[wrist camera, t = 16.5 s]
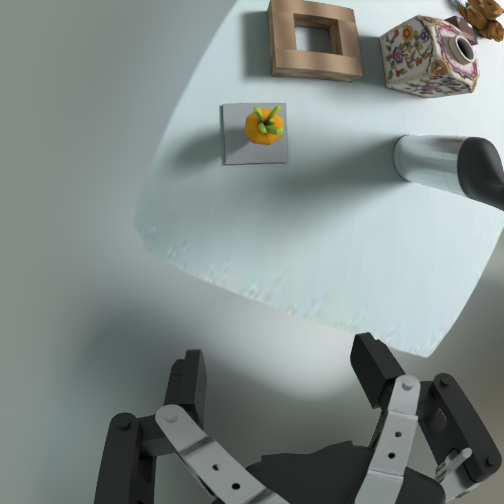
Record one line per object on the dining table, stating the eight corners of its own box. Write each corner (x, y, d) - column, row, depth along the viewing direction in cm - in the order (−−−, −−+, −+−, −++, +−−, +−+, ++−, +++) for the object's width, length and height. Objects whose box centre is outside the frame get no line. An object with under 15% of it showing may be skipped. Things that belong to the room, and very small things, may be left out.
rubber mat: (285, 103, 39) (285, 103, 38) (287, 162, 42) (288, 162, 42) (223, 104, 38) (222, 104, 38) (225, 164, 42) (225, 164, 41)
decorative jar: (384, 87, 38) (447, 70, 21) (376, 36, 34) (431, 3, 17) (430, 99, 39) (493, 93, 22) (423, 51, 34) (480, 32, 18)
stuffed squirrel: (467, 1, 26) (495, -9, 13) (492, 42, 30) (522, 37, 18) (452, 2, 27) (482, -11, 15) (480, 46, 32) (513, 40, 19)
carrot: (237, 122, 39) (240, 106, 25) (267, 114, 39) (285, 95, 25) (246, 151, 41) (253, 150, 27) (276, 142, 41) (298, 138, 27)
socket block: (342, 19, 33) (352, 9, 28) (350, 82, 38) (363, 76, 33) (267, 10, 32) (270, -3, 27) (271, 75, 37) (276, 67, 32)
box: (442, 43, 33) (462, 37, 26) (435, 22, 31) (454, 14, 24) (458, 49, 33) (478, 44, 26) (452, 29, 31) (470, 23, 24)
